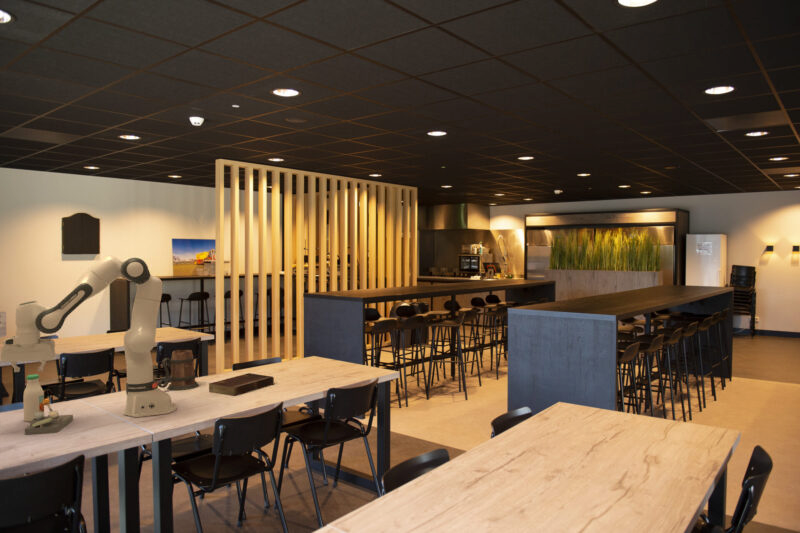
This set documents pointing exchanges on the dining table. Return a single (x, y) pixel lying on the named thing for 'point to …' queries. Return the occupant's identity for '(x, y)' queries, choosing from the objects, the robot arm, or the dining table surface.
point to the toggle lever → (47, 403)
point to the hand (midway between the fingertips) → (28, 371)
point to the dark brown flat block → (240, 384)
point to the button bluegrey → (39, 415)
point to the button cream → (53, 414)
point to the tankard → (179, 371)
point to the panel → (49, 425)
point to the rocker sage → (42, 422)
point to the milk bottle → (32, 398)
